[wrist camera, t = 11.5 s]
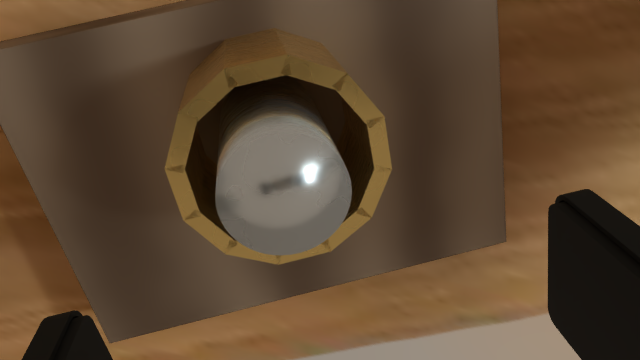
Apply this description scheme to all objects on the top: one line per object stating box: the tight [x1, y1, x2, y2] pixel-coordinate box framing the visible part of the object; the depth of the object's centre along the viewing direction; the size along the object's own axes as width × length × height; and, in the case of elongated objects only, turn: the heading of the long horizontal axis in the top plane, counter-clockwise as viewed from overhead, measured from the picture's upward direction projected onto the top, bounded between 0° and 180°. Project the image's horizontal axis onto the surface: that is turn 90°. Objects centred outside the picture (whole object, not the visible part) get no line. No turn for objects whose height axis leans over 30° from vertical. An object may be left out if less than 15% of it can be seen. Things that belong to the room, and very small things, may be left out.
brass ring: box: [165, 28, 392, 265], centre depth 19 cm, size 7×7×5 cm
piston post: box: [215, 76, 352, 255], centre depth 18 cm, size 4×4×7 cm
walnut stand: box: [0, 0, 506, 343], centre depth 24 cm, size 20×14×3 cm
